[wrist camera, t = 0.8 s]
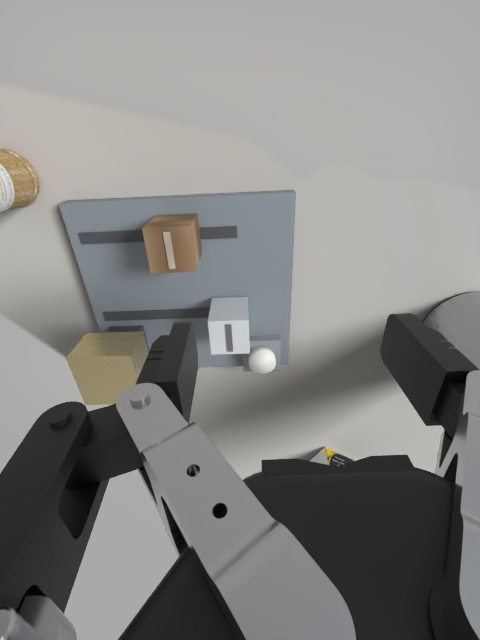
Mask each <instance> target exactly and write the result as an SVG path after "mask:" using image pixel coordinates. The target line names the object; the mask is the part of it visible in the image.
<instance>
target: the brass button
mask: <svg viewBox="0 0 480 640" xmlns="http://www.w3.org/2000/svg"><path fill="white" fill-rule="evenodd" d="M147 355H148V349H147V345H146V341H145V336H144V332H143V331H137V332H107V333H86V334H85V335H84V336H83V337H82V339H81V340H80V341H79V342H78V344H77V345H76V346H75V347H74V349H73V350H72V351H71V352H70V353H69V355H68V356H67V357H66V359H67V361H68V363H69V366H70V368H71V371H72V373H73V376H74V378H75V380H76V383H77V385H78V388H79V390H80V393H81V395H82V397H83V400H84V402H85V405H94V404H95V405H96V404H116V402H117V399H118V397H119V396H120V395H121V394H122V393H123V392H124V391H125V390H126V389H128V388H130V387H132V386H134V385H135V384H136V382H137V379H138V377H139V375H140V372H141V370H142V367H143V365H144V363H145V361H146V358H147Z"/></svg>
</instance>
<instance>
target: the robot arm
mask: <svg viewBox="0 0 480 640" xmlns="http://www.w3.org/2000/svg"><path fill="white" fill-rule="evenodd" d="M381 357H382V360H383V362H384V364H385V365H386V367H387V368H388V370H389V371H390V373H391V374H392V375H393V377H394V378H395V380H396V381H397V383H398V384H399V386H400V387H401V389H402V390H403V392H404V393H405V395H406V396H407V398H408V399H409V401H410V402H411V404H412V405H413V407H414V408H415V410H416V411H417V413H418V414H419V416H420V417H421V419H422V420H423V422H424V423H425V425H426V426H432V425H442V426H443V428H444V430H443V433H442V435H441V440H440V445H439V451H438V457H437V463H436V469H435V474H434V473H431V472H429V471H426V470H422V469H419V468H415V467H414V466H413V465H412V463H411V461H410V459H409V457H408V455H388V456H370V457H367V458H363V459H360V460H357V461H354V462H350V463H347V464H344V465H340V466H332V465H327V464H322V463H317V462H311V461H306V460H301V459H277V460H262V472H259V473H256V474H254V475H251V476H249V477H247V478H245V479H244V480H242V479H241V478H240V477H239V475H238V474H237V473H236V472H235V470H234V469H233V468H232V467H231V465H230V464H229V463H228V462H227V460H226V459H225V458H224V457H223V455H222V454H221V453H220V452H219V450H218V449H217V448H216V446H215V445H214V444H213V443H212V441H211V440H210V439H209V438H208V436H207V435H206V434H205V433H204V431H203V430H202V429H201V428H200V426H199V425H198V424H196V423H195V422H193V423H191V424H188V423H189V417H190V412H191V406H192V400H193V394H194V388H195V382H196V376H197V370H198V352H197V344H196V337H195V330H194V324H193V322H175V323H173V326H172V329H171V332H170V335H161V336H160V337H159V338H158V339H156V340H155V341H154V342H153V343H152V346H151V348H150V351H149V353H148V355H147V358H146V361H145V363H144V365H143V367H142V370H141V372H140V375H139V377H138V379H137V382H136V384H135V385H134V386H132V387H130V388H128V389H126V390H125V391H124V392H123V393H122V394H121V395H120V396H119V397H118V399H117V402H116V404H113V405H111V406H108V407H104V408H100V409H96V410H93V411H89V412H88V411H87V409H86V407H85V405H83V404H82V403H79V402H65V403H62V404H59V405H56V406H54V407H52V408H50V409H49V410H47V411H46V412H44V413H43V414H42V415H41V416H40V417H39V418H38V419H37V421H36V422H35V423H34V425H33V426H32V428H31V429H30V431H29V432H28V434H27V435H26V436H25V438H24V439H23V441H22V442H21V444H20V445H19V447H18V448H17V450H16V451H15V453H14V455H13V456H12V457H11V459H10V460H9V462H8V463H7V465H6V466H5V468H4V469H3V471H2V472H1V474H0V640H77V639H76V638H77V637H76V632H75V628H74V626H73V624H72V623H71V622H70V621H69V620H68V618H67V617H66V616H65V615H64V611H65V608H66V605H67V602H68V599H69V596H70V593H71V590H72V587H73V585H74V582H75V579H76V576H77V573H78V569H79V567H80V564H81V561H82V558H83V555H84V552H85V549H86V546H87V543H88V540H89V538H90V535H91V532H92V529H93V526H94V523H95V520H96V517H97V514H98V511H99V508H100V505H101V502H102V499H103V496H104V493H105V490H106V487H107V484H108V481H109V479H110V478H112V477H115V476H118V475H121V474H124V473H127V472H130V471H133V470H136V469H138V471H139V473H140V475H141V477H142V479H143V481H144V483H145V486H146V488H147V490H148V491H149V494H150V496H151V498H152V500H153V502H154V504H155V506H156V508H157V510H158V512H159V514H160V517H161V519H162V521H163V524H164V526H165V529H166V531H167V534H168V536H169V538H170V540H171V543H172V545H173V547H174V549H175V551H176V553H177V555H178V557H179V558H178V559H177V561H176V562H175V563H174V565H173V566H172V567H171V569H170V570H169V571H168V573H167V574H166V576H165V577H164V578H163V579H162V581H161V582H160V584H159V585H158V586H157V588H156V589H155V590H154V592H153V593H152V594H151V596H150V597H149V598H148V600H147V601H146V602H145V604H144V605H143V606H142V608H141V609H140V611H139V612H138V613H137V615H136V616H135V618H134V619H133V620H132V621H131V623H130V624H129V626H128V627H127V628H126V629H125V631H124V632H123V634H122V635H121V636H120V638H119V639H118V640H480V292H470V293H465V294H461V295H458V296H455V297H453V298H451V299H449V300H447V301H445V302H443V303H442V304H440V305H439V306H438V307H436V308H435V309H434V310H433V311H432V312H431V313H430V314H429V315H428V316H427V318H426V319H425V321H424V322H423V323H422V322H421V321H420V320H419V319H418V318H417V317H416V316H415V315H413V314H412V313H406V314H391V315H389V317H388V319H387V323H386V327H385V332H384V336H383V340H382V345H381Z"/></svg>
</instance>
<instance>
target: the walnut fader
mask: <svg viewBox="0 0 480 640" xmlns="http://www.w3.org/2000/svg"><path fill="white" fill-rule="evenodd" d="M142 232H143V236H144V241H145V246H146V251H147V256H148V261H149V266H150V271H151V274H153V273H179V272H196V269H197V267H198V264H199V261H200V258H201V255H202V247H201V238H200V229H199V220H198V213H194V214H171V215H156V216H155V217H154V218H153V219H152V220H151V221H149V222H148V223H147V224H146V225H145V226H144V227H142Z"/></svg>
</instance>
